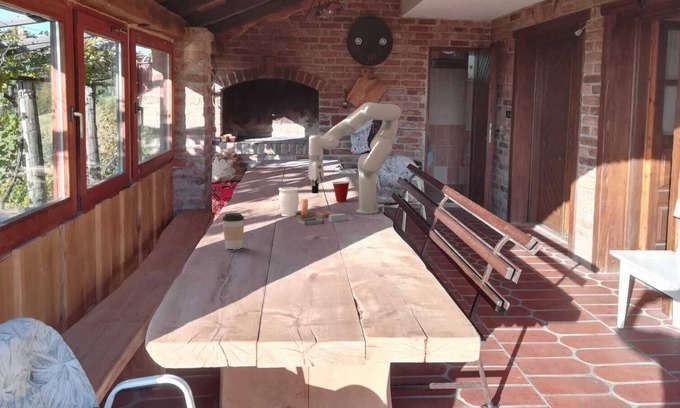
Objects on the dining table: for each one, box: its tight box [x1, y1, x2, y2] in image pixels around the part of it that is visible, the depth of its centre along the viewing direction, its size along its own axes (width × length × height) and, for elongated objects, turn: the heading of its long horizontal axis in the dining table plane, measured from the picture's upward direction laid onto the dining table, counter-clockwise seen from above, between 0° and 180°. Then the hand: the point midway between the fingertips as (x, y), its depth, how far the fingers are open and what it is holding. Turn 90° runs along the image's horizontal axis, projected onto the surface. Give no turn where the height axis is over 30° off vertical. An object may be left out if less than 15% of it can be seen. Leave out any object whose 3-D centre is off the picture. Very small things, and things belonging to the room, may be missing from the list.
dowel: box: [300, 198, 309, 217], centre depth 341 cm, size 3×3×10 cm
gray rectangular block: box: [328, 213, 347, 223], centre depth 338 cm, size 8×3×4 cm, turn 117°
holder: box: [295, 213, 313, 221], centre depth 342 cm, size 8×8×3 cm
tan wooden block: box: [315, 210, 337, 219], centre depth 351 cm, size 8×8×3 cm
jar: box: [278, 186, 300, 217], centre depth 353 cm, size 11×10×15 cm
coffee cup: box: [222, 212, 245, 250], centre depth 284 cm, size 9×9×15 cm
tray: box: [296, 216, 325, 226], centre depth 333 cm, size 10×9×2 cm
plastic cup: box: [331, 180, 351, 203], centre depth 398 cm, size 11×11×12 cm
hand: (315, 193), depth 357 cm, fingers closed
